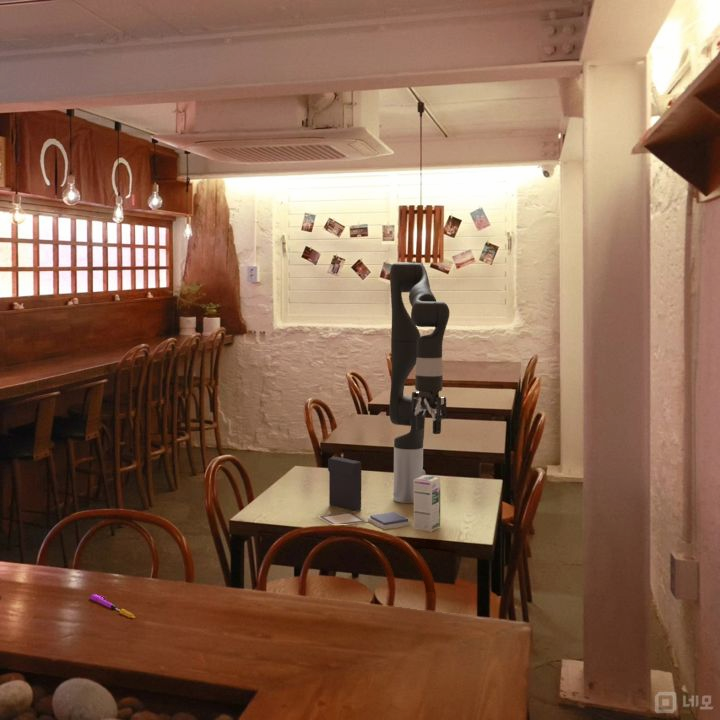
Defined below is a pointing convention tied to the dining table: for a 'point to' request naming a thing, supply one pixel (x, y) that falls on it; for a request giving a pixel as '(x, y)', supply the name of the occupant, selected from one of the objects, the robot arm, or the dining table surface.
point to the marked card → (342, 518)
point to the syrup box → (427, 503)
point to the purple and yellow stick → (110, 605)
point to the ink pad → (389, 520)
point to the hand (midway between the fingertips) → (428, 431)
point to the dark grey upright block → (344, 483)
